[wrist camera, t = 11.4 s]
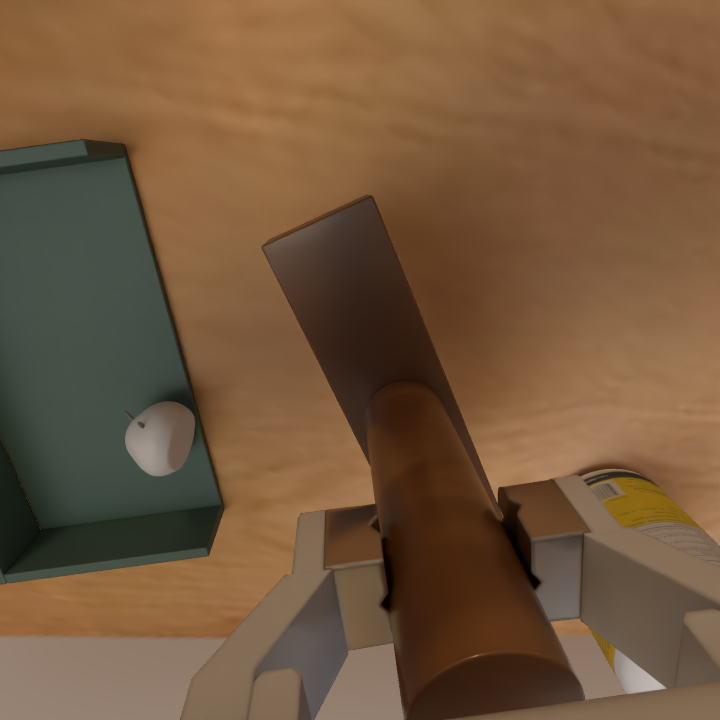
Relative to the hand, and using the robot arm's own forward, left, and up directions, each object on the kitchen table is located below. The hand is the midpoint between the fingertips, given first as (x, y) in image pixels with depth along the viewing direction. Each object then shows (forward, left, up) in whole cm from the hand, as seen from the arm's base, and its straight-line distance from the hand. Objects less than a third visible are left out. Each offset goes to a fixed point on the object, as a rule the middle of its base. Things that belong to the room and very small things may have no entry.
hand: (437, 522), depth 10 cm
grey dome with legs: (+9, +3, -11) cm, 15 cm away
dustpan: (+16, 0, -13) cm, 20 cm away
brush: (0, 0, -8) cm, 8 cm away
